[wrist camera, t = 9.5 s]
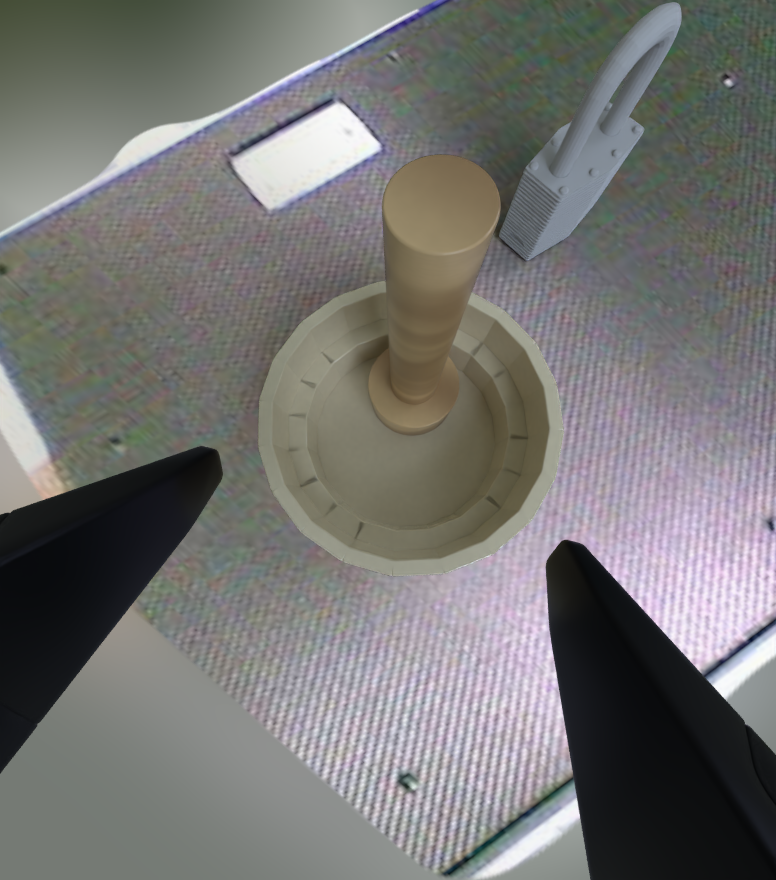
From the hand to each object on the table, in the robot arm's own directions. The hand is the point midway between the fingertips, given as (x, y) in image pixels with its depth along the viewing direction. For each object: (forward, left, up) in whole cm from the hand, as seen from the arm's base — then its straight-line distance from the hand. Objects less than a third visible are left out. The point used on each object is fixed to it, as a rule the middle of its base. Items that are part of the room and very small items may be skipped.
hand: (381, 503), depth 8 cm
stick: (+6, +2, -11) cm, 13 cm away
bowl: (+4, +1, -12) cm, 12 cm away
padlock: (+23, +1, -12) cm, 26 cm away
